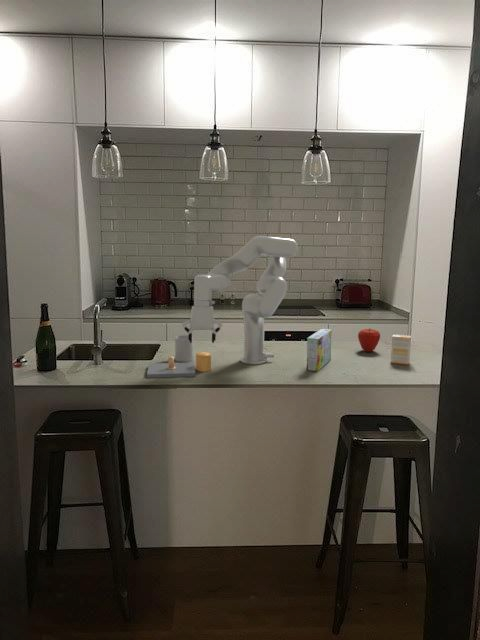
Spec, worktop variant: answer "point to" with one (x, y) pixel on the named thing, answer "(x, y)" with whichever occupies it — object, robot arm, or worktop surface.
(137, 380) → the worktop surface
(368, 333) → the apple
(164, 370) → the base
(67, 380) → the worktop surface
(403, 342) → the supplement box
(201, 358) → the orange cylinder
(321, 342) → the snack box
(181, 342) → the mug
